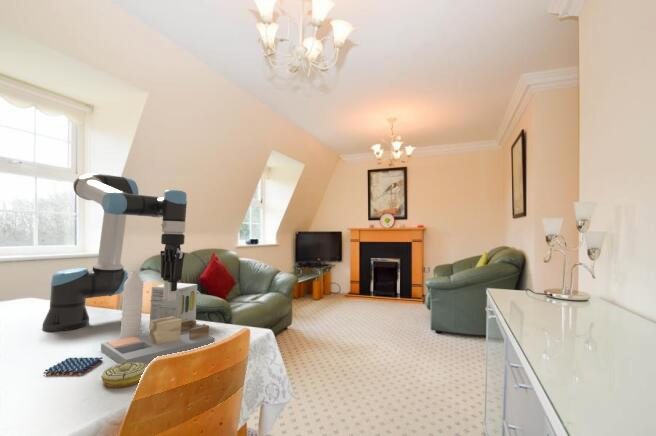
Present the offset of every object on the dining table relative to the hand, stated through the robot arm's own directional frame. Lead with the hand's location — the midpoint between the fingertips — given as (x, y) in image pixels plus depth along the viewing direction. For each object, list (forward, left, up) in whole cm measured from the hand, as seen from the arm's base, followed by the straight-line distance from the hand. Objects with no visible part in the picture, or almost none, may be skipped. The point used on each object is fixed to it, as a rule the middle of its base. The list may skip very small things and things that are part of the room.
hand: (169, 299), depth 116 cm
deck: (-1, -2, -16) cm, 17 cm away
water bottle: (-19, -4, -17) cm, 25 cm away
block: (0, -1, -14) cm, 14 cm away
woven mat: (-1, -26, -17) cm, 32 cm away
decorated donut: (+18, -20, -17) cm, 32 cm away
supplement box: (-23, +13, -17) cm, 31 cm away
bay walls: (0, +9, -14) cm, 16 cm away
